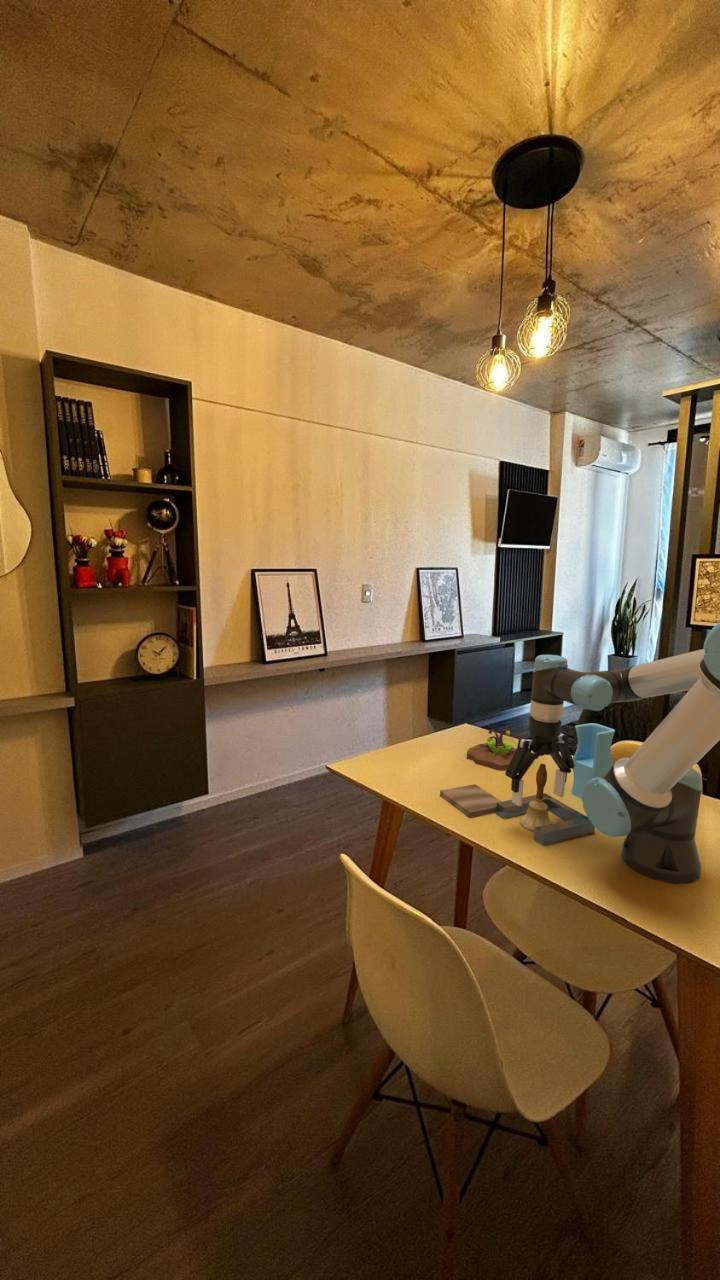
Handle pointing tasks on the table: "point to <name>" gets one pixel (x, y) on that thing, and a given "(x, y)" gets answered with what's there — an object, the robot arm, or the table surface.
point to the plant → (493, 752)
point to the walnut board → (471, 800)
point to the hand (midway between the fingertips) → (537, 799)
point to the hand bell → (537, 804)
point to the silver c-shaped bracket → (554, 832)
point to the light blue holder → (591, 754)
